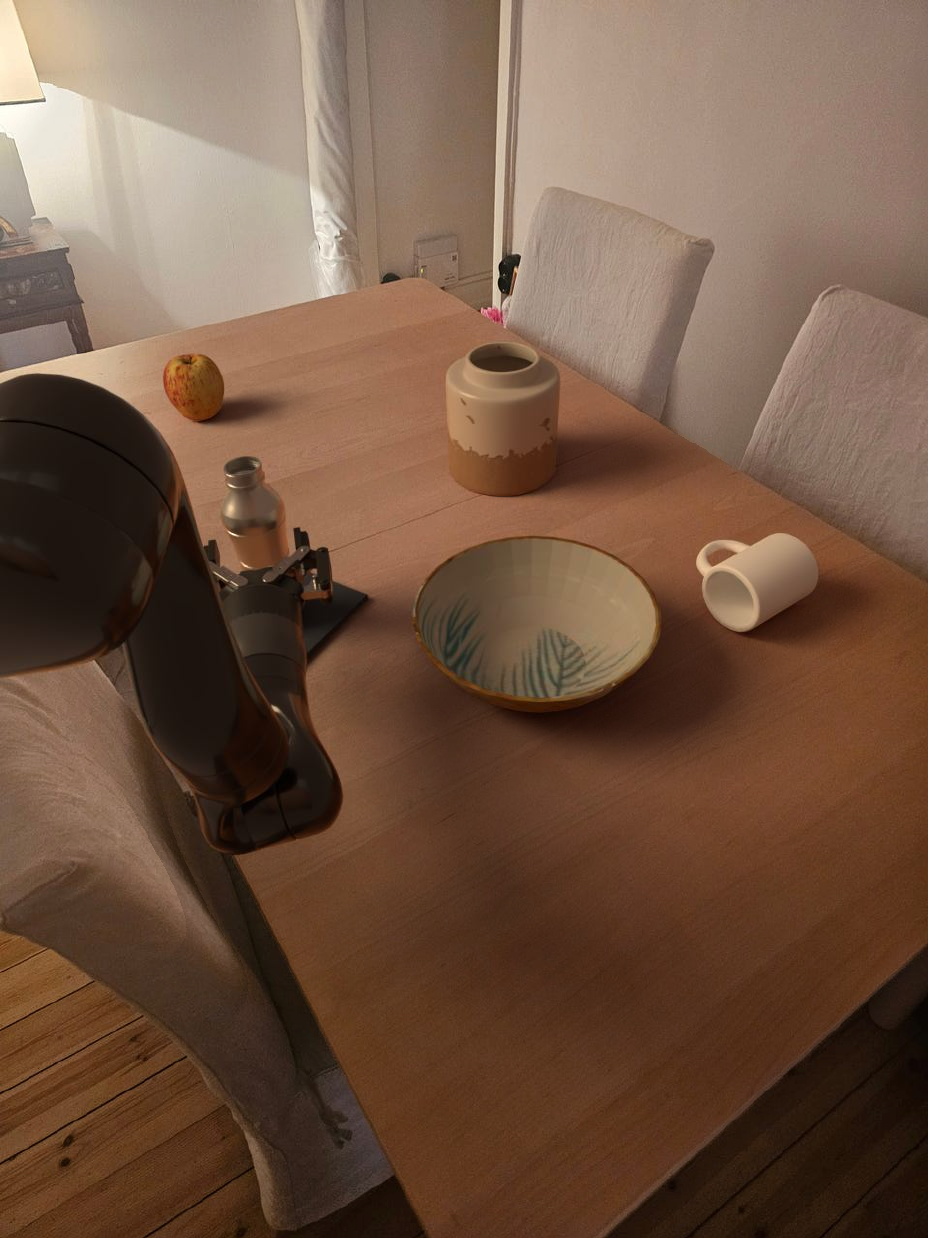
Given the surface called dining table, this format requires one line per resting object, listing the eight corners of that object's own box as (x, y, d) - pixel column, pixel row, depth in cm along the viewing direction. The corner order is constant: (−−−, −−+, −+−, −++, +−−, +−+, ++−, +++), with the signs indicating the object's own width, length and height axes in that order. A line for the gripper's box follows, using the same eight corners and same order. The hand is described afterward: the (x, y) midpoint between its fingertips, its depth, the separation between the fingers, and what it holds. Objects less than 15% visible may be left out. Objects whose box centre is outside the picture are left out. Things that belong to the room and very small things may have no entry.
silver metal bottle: (317, 619, 94) (287, 468, 80) (263, 642, 91) (222, 491, 78) (294, 589, 98) (261, 441, 84) (240, 611, 95) (198, 462, 82)
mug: (808, 609, 94) (827, 554, 89) (750, 646, 90) (766, 590, 84) (727, 558, 101) (740, 504, 96) (670, 589, 97) (680, 535, 92)
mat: (280, 685, 87) (279, 680, 87) (185, 641, 93) (183, 636, 92) (368, 599, 97) (367, 594, 97) (277, 563, 103) (276, 558, 102)
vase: (427, 466, 119) (420, 356, 108) (504, 429, 126) (505, 322, 115) (499, 510, 110) (499, 395, 99) (577, 468, 117) (586, 357, 106)
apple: (196, 397, 136) (180, 339, 130) (242, 406, 134) (229, 347, 127) (162, 423, 130) (144, 364, 124) (210, 433, 128) (194, 372, 121)
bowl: (702, 687, 86) (715, 632, 80) (502, 798, 76) (502, 743, 71) (556, 563, 101) (559, 509, 96) (376, 641, 92) (369, 587, 87)
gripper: (336, 602, 71) (320, 499, 83) (168, 629, 69) (175, 520, 81) (347, 662, 76) (330, 558, 88) (190, 690, 74) (194, 579, 86)
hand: (256, 540), depth 84 cm, fingers open, 8 cm apart
